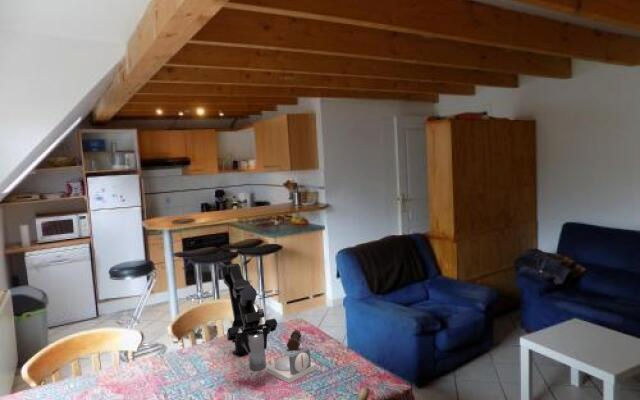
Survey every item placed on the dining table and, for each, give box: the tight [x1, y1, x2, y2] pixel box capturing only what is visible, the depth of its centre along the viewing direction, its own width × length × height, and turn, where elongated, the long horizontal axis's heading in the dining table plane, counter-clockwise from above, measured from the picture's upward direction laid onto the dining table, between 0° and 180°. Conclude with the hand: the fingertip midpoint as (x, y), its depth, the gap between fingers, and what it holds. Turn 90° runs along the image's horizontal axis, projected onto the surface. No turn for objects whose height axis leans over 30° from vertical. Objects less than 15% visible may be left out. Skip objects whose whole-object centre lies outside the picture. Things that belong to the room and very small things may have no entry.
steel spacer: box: [247, 330, 267, 372], centre depth 159 cm, size 6×6×13 cm
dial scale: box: [265, 347, 317, 384], centre depth 168 cm, size 14×14×9 cm
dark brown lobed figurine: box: [286, 329, 302, 352], centre depth 193 cm, size 6×5×15 cm
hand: (257, 350), depth 158 cm, fingers closed on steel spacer, 6 cm apart
